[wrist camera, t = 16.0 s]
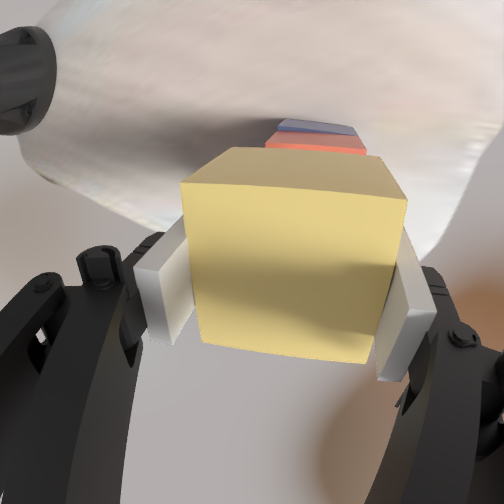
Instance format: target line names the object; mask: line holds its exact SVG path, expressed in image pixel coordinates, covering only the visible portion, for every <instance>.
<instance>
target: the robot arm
mask: <svg viewBox="0 0 504 504" xmlns="http://www.w3.org/2000/svg"><path fill="white" fill-rule="evenodd" d="M55 82H56V56H55V51H54V47H53V44H52V41H51V39H50V38H49V36H48V35H47V33H46V32H45V31H44V30H42V29H41V28H39V27H35V26H27V27H17V28H14V29H12V30H9V31H7V32H5V33H3V34H0V135H17V134H20V133H23V132H26V131H29V130H31V129H33V128H34V127H35V126H37V125H38V124H39V123H40V121H41V120H42V119H43V117H44V116H45V114H46V112H47V110H48V108H49V106H50V103H51V100H52V97H53V93H54V89H55ZM76 261H77V264H78V267H79V271H80V274H81V278H82V281H83V284H82V286H64V283H63V280H62V278H61V276H60V275H59V274H57V273H55V272H47V273H42V274H40V275H38V276H36V277H34V278H33V279H32V280H30V281H29V282H28V283H27V284H26V285H25V286H24V287H23V288H22V289H21V290H20V291H19V292H18V294H16V295H15V297H13V298H12V300H11V301H10V302H9V303H8V304H7V305H6V306H5V307H4V308H3V309H2V310H1V311H0V497H1V495H2V493H3V497H2V503H1V504H120V495H121V484H122V475H123V467H124V458H125V451H126V443H127V436H128V429H129V423H130V416H131V410H132V403H133V398H134V392H135V387H136V381H137V376H138V370H139V365H140V361H141V356H142V351H143V342H142V339H141V336H142V334H143V333H144V331H145V329H146V328H147V329H148V333H149V337H150V340H151V341H154V342H158V343H162V344H166V345H170V346H173V344H174V342H175V341H176V339H177V337H178V335H179V333H180V332H181V330H182V328H183V326H184V324H185V323H186V321H187V319H188V317H189V316H190V314H191V312H192V310H193V308H194V307H195V299H194V292H193V285H192V279H191V272H190V262H189V250H188V238H187V236H186V234H185V226H184V217H183V216H182V217H181V218H180V219H179V220H178V221H177V222H176V223H175V224H174V225H173V226H172V227H171V228H170V229H169V230H168V231H167V232H156V233H155V234H153V235H151V236H149V237H147V238H146V239H145V240H144V241H143V242H142V243H141V244H140V245H139V247H137V248H136V249H135V250H134V251H133V253H131V254H130V255H129V256H128V257H127V258H126V259H125V260H124V261H123V262H122V260H121V255H120V252H119V250H118V249H117V248H115V247H113V246H106V245H103V246H95V247H92V248H90V249H87V250H85V251H84V252H82V253H80V254H79V255H78V256H77V258H76ZM40 328H41V330H42V331H43V333H44V335H45V338H46V339H45V341H44V342H42V343H40V342H39V340H38V338H37V336H36V333H37V332H38V331H39V330H40ZM374 338H375V351H376V363H377V364H376V366H377V380H380V381H393V382H401V381H402V380H403V378H404V376H405V374H406V373H407V371H408V372H409V379H410V382H409V384H408V386H407V387H406V389H405V390H404V392H403V394H402V395H401V397H400V398H399V400H398V401H397V403H396V405H395V407H399V405H400V408H399V411H398V414H397V418H396V421H395V425H394V428H393V430H392V434H391V437H390V440H389V443H388V445H387V449H386V451H385V454H384V457H383V459H382V462H381V465H380V467H379V470H378V473H377V475H376V477H375V480H374V482H373V485H372V487H371V489H370V492H369V494H368V496H367V499H366V501H365V503H364V504H504V422H503V419H502V414H503V413H504V349H503V351H502V352H498V351H495V350H492V349H489V348H487V347H484V346H482V345H481V341H480V338H479V336H478V334H477V333H476V331H475V330H473V329H472V328H471V327H470V326H469V325H467V324H465V323H463V322H461V321H460V319H459V316H458V313H457V311H456V308H455V306H454V303H453V301H452V299H451V297H450V294H449V291H448V289H446V284H445V282H444V280H443V278H442V276H441V275H440V274H439V273H438V272H437V271H436V270H435V269H434V268H432V267H425V266H420V263H419V261H418V258H417V256H416V253H415V251H414V249H413V246H412V244H411V242H410V239H409V237H408V235H407V232H406V230H405V228H404V226H403V229H402V234H401V239H400V244H399V248H398V253H397V257H396V262H395V266H394V270H393V274H392V278H391V282H390V286H389V290H388V293H387V297H386V301H385V304H384V308H383V311H382V315H381V318H380V321H379V325H378V327H377V330H376V333H375V335H374ZM3 491H4V492H3Z"/></svg>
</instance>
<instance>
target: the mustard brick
mask: <svg viewBox="0 0 504 504" xmlns="http://www.w3.org/2000/svg"><path fill="white" fill-rule="evenodd" d="M180 190H181V200H182V209H183V217H184V226H185V234H186V236H187V238H188V250H189V262H190V272H191V279H192V285H193V292H194V299H195V305H196V311H197V317H198V323H199V329H200V335H201V341H202V342H205V343H210V344H216V345H221V346H227V347H233V348H238V349H245V350H251V351H257V352H264V353H271V354H278V355H286V356H293V357H301V358H310V359H318V360H327V361H338V362H349V363H362V364H366V362H367V359H368V356H369V353H370V350H371V346H372V344H373V341H374V335H375V333H376V330H377V327H378V325H379V321H380V318H381V315H382V311H383V308H384V304H385V301H386V297H387V293H388V290H389V286H390V282H391V278H392V274H393V270H394V266H395V262H396V257H397V253H398V248H399V244H400V239H401V234H402V229H403V224H404V219H405V214H406V208H407V202H408V200H407V198H406V196H405V195H404V193H403V192H402V190H401V188H400V187H399V185H398V184H397V182H396V180H395V179H394V177H393V176H392V174H391V173H390V171H389V170H388V168H387V167H386V165H385V164H384V162H383V161H382V159H381V158H380V157H376V156H368V155H359V154H349V153H339V152H328V151H316V150H301V149H284V148H260V147H231V148H229V149H228V150H226V151H225V152H223V153H222V154H220V155H219V156H217V157H216V158H215V159H213V160H212V161H210V162H209V163H207V164H206V165H204V166H203V167H201V168H200V169H199V170H197V171H196V172H194V173H193V174H191V175H190V176H189V177H187V178H186V179H184V180H183V181H182V182H180Z"/></svg>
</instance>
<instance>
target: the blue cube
mask: <svg viewBox="0 0 504 504" xmlns="http://www.w3.org/2000/svg"><path fill="white" fill-rule="evenodd" d="M277 131H297V132H315V133H329V134H341V135H352V136H358V135H357V133H356V131H355V130H354V128H353V127H347V126H341V125H334V124H327V123H320V122H312V121H304V120H295V119H285V120H283V121H282V122H281V123H280V124H279V125H278V128H277Z"/></svg>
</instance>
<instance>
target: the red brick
mask: <svg viewBox="0 0 504 504" xmlns="http://www.w3.org/2000/svg"><path fill="white" fill-rule="evenodd" d="M265 148H284V149H301V150H316V151H328V152H339V153H349V154H359V155H366V151H367V150H366V148H365V146H364V145H363V143H362V141H361V140H360V138H359V136H352V135H341V134H329V133H315V132H297V131H276V132H275V133H274V134H273V135H272V136H271V137H270V138H269V139H268V140H267V141H266V142H265Z"/></svg>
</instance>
